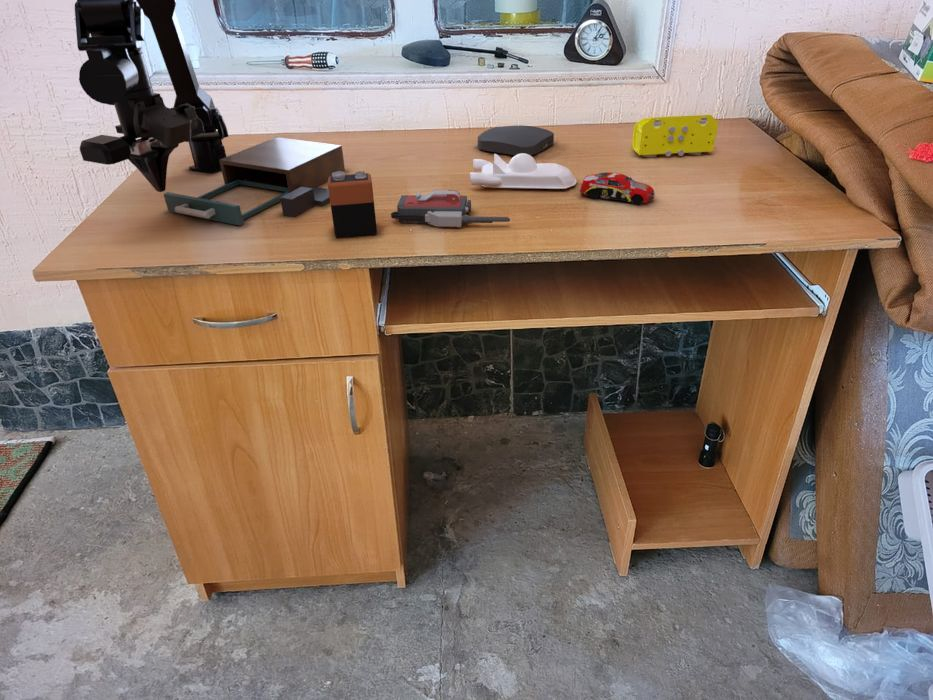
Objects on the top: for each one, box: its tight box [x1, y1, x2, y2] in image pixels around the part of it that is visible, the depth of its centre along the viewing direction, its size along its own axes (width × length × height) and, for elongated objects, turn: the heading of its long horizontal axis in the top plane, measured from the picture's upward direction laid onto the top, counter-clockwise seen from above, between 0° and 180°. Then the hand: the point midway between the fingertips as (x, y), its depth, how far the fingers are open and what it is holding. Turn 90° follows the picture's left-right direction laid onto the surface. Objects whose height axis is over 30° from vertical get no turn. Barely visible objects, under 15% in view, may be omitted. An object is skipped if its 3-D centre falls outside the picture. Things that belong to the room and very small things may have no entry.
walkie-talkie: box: [390, 189, 511, 228], centre depth 109 cm, size 9×4×20 cm
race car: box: [579, 172, 656, 206], centre depth 117 cm, size 13×5×4 cm, turn 63°
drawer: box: [163, 179, 289, 226], centre depth 117 cm, size 19×17×3 cm
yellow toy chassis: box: [631, 114, 719, 158], centre depth 136 cm, size 16×6×8 cm, turn 95°
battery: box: [327, 170, 378, 239], centre depth 104 cm, size 4×7×10 cm, turn 100°
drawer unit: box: [219, 136, 346, 193], centre depth 128 cm, size 17×17×5 cm
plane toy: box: [469, 153, 577, 190], centre depth 123 cm, size 10×20×6 cm, turn 86°
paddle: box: [279, 186, 330, 218], centre depth 117 cm, size 6×12×3 cm, turn 155°
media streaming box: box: [477, 124, 555, 156], centre depth 145 cm, size 15×15×3 cm
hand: (161, 191), depth 104 cm, fingers closed
